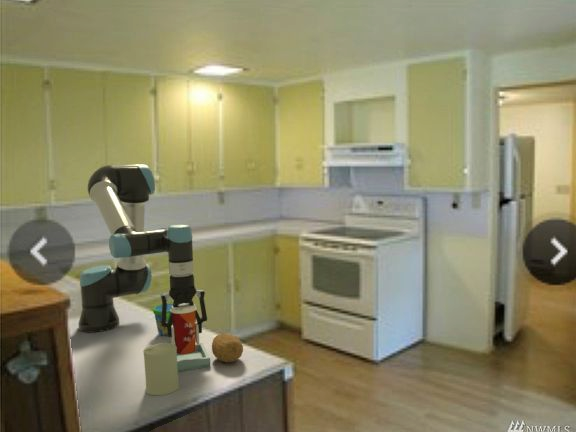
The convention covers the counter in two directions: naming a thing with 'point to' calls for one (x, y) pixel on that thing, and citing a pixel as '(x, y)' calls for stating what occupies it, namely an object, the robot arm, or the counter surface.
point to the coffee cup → (184, 327)
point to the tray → (193, 359)
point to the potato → (227, 347)
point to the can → (161, 369)
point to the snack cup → (158, 311)
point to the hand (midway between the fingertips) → (185, 344)
